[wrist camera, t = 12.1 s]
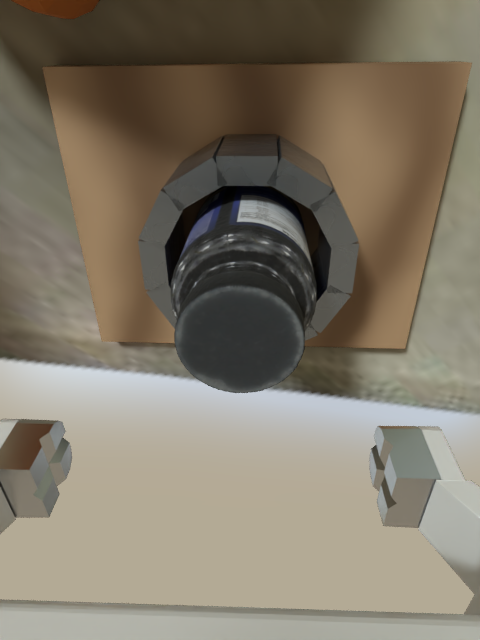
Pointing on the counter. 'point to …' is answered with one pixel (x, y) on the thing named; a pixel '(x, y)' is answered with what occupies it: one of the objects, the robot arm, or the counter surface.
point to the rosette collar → (252, 170)
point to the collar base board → (281, 119)
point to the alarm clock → (59, 7)
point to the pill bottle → (244, 290)
